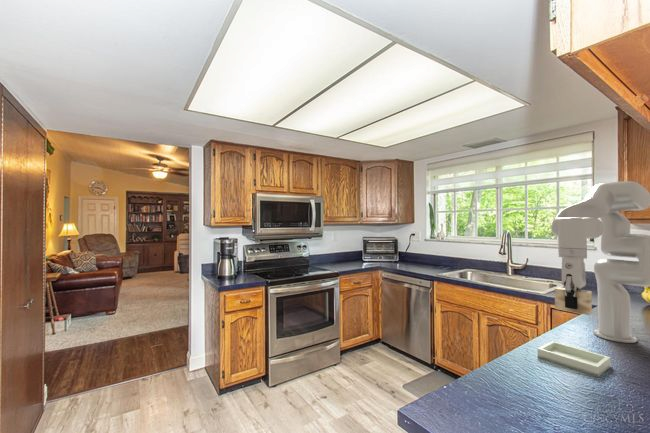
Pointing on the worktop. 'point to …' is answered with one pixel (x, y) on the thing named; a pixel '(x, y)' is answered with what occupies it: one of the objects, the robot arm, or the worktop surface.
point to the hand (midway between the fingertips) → (573, 306)
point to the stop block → (582, 298)
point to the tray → (575, 358)
